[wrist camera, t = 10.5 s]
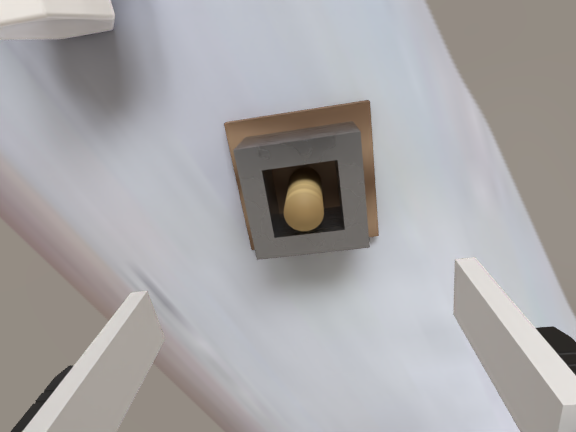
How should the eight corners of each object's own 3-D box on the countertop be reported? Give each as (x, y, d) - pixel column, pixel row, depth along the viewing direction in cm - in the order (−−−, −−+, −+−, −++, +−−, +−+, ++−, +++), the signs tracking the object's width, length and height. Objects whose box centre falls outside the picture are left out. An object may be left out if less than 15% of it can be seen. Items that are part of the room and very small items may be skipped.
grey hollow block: (245, 137, 30) (233, 150, 25) (352, 121, 29) (360, 131, 24) (264, 232, 33) (256, 259, 29) (361, 221, 32) (369, 247, 28)
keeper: (226, 122, 30) (199, 139, 23) (367, 100, 29) (387, 111, 22) (253, 245, 35) (238, 293, 28) (376, 231, 34) (395, 277, 26)
